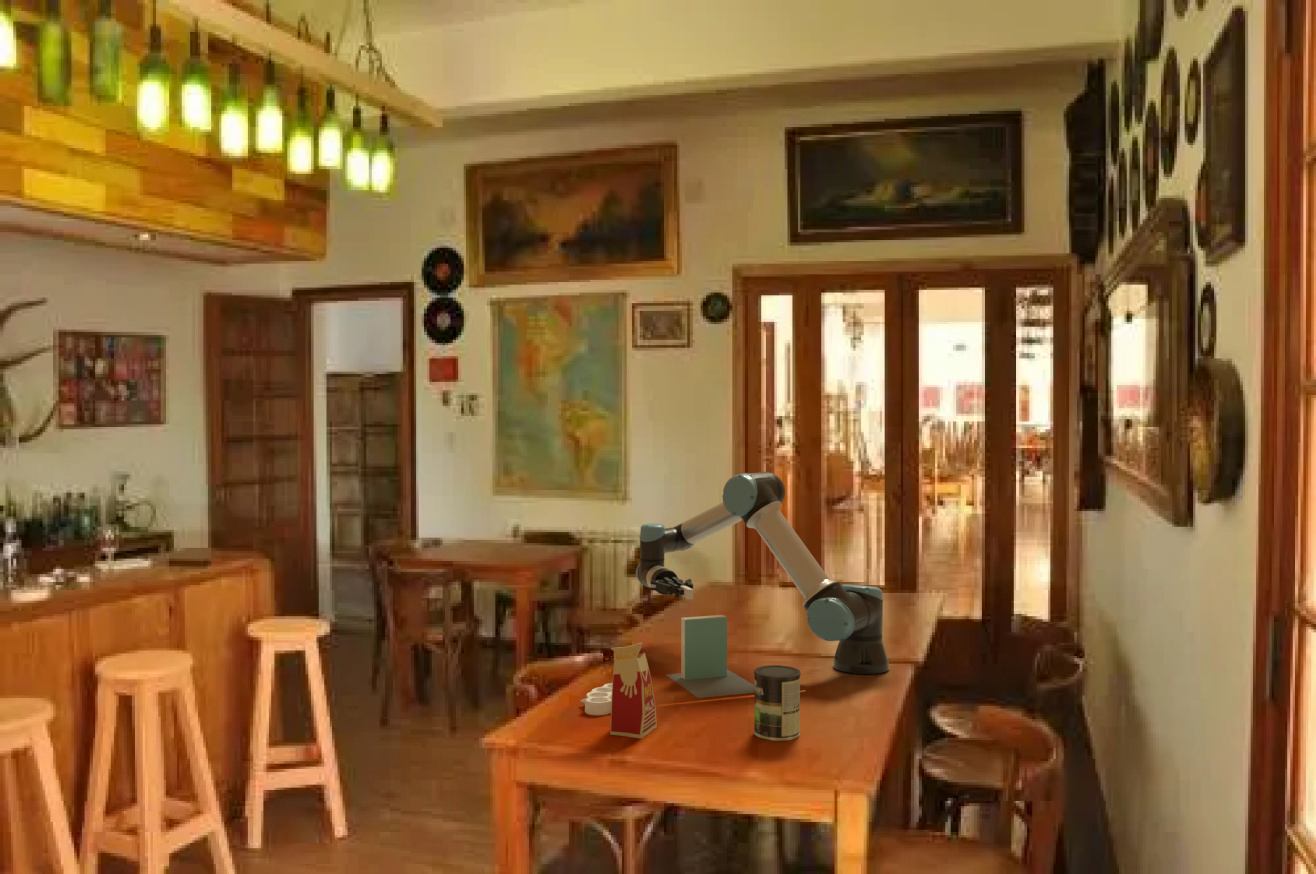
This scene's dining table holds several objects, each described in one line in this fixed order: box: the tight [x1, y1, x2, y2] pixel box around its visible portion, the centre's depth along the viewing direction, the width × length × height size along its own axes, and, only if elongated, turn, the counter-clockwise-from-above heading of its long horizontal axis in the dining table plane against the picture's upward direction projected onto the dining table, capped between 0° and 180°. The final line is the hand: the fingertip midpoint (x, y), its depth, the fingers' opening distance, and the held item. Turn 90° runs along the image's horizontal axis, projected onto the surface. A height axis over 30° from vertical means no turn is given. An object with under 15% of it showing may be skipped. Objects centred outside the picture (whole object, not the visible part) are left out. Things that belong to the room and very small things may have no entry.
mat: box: [666, 668, 755, 699], centre depth 268 cm, size 24×18×1 cm
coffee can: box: [753, 664, 802, 742], centre depth 226 cm, size 10×10×14 cm
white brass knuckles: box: [580, 682, 612, 716], centre depth 249 cm, size 3×18×15 cm
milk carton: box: [609, 642, 658, 739], centre depth 229 cm, size 9×9×20 cm
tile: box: [680, 614, 728, 680], centre depth 274 cm, size 3×12×16 cm, turn 109°
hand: (690, 594), depth 282 cm, fingers closed
